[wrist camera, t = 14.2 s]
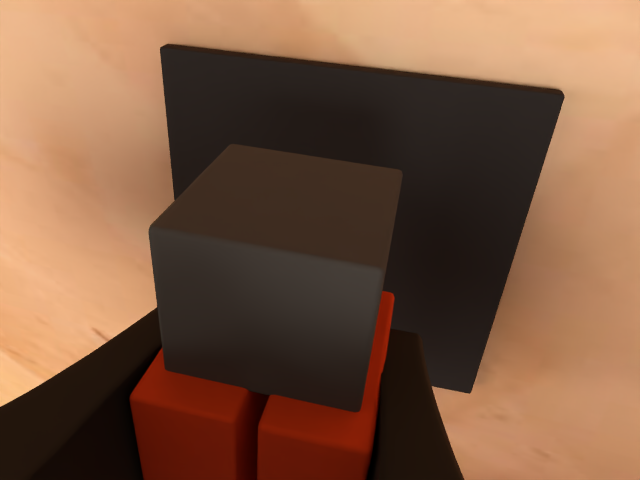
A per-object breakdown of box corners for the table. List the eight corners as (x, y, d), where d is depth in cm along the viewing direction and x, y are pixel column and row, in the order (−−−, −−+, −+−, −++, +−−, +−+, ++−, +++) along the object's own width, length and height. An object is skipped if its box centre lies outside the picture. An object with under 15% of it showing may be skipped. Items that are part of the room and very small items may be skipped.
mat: (192, 329, 17) (187, 337, 17) (167, 43, 12) (158, 46, 12) (470, 384, 16) (470, 394, 16) (562, 90, 11) (565, 94, 11)
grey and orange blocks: (363, 460, 13) (336, 629, 10) (225, 428, 13) (159, 579, 10) (419, 170, 9) (402, 307, 6) (216, 139, 9) (99, 248, 6)
